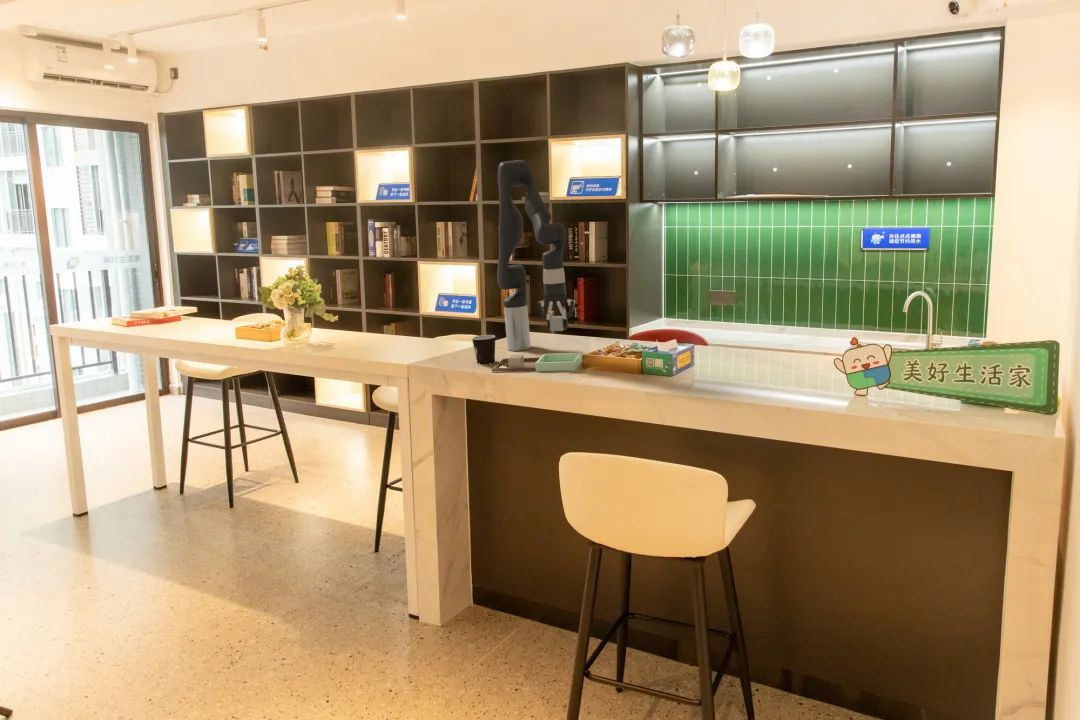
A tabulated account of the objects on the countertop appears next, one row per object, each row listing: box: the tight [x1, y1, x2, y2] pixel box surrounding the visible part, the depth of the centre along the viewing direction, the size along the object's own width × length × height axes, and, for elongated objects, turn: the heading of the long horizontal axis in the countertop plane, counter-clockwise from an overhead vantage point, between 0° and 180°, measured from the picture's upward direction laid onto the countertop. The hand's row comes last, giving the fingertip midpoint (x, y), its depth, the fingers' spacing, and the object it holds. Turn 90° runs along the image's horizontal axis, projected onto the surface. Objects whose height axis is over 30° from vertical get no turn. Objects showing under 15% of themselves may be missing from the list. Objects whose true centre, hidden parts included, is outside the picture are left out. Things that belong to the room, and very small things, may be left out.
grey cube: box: [549, 315, 564, 332], centre depth 291 cm, size 4×4×4 cm
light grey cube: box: [508, 354, 525, 368], centre depth 293 cm, size 4×4×4 cm
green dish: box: [535, 352, 583, 373], centre depth 291 cm, size 14×14×4 cm
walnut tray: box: [491, 356, 541, 373], centre depth 297 cm, size 16×16×2 cm
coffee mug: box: [471, 334, 496, 365], centre depth 308 cm, size 12×9×10 cm
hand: (558, 329), depth 292 cm, fingers closed on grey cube, 4 cm apart
